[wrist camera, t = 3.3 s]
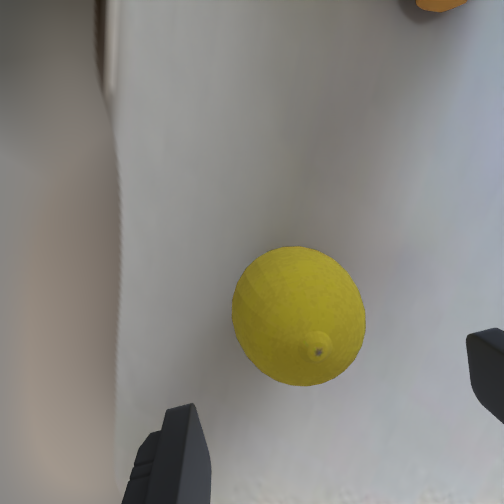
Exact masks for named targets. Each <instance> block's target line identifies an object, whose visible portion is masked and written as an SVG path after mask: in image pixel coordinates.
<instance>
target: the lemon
mask: <svg viewBox="0 0 504 504" xmlns="http://www.w3.org/2000/svg"><path fill="white" fill-rule="evenodd" d="M232 321H233V325H234V329H235V334H236V337H237V339H238V341H239V343H240V345H241V347H242V348H243V350H244V352H245V354H246V356H247V357H248V358H249V359H250V360H251V361H252V362H253V363H254V364H255V366H256V367H257V368H258V369H259V370H260V371H261V372H263V373H264V374H266V375H268V376H269V377H271V378H273V379H274V380H276V381H278V382H282V383H285V384H288V385H293V386H312V385H317V384H322V383H324V382H327V381H329V380H331V379H334V378H335V377H337V376H338V375H339V374H341V373H342V372H344V371H345V370H346V369H347V368H348V366H349V365H350V364H351V363H352V362H353V361H354V360H355V358H356V356H357V354H358V352H359V350H360V348H361V346H362V343H363V339H364V335H365V329H366V322H365V309H364V306H363V302H362V299H361V296H360V293H359V290H358V288H357V287H356V285H355V283H354V282H353V280H352V279H351V277H350V275H349V274H348V273H347V271H346V270H345V269H344V268H342V267H341V266H340V265H339V264H338V263H337V262H336V261H335V260H334V259H332V258H331V257H329V256H327V255H325V254H323V253H321V252H319V251H317V250H314V249H310V248H305V247H301V246H293V247H281V248H278V249H274V250H271V251H268V252H267V253H265V254H263V255H261V256H260V257H258V258H256V259H255V260H254V261H253V262H252V263H251V264H250V265H249V266H248V267H247V268H246V269H245V271H244V273H243V274H242V276H241V277H240V279H239V281H238V282H237V285H236V289H235V292H234V295H233V299H232Z"/></svg>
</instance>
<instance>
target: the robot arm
mask: <svg viewBox="0 0 504 504" xmlns="http://www.w3.org/2000/svg"><path fill="white" fill-rule="evenodd" d="M466 346H467V355H468V363H469V372H470V380H471V385H472V389H473V391H474V393H475V395H476V397H477V399H478V400H479V402H480V403H481V404H482V405H483V406H484V407H485V408H486V409H487V410H489V411H490V412H491V413H492V414H493V415H494V416H495V417H496V418H497V419H499V420H500V421H501V422H502V423H503V424H504V331H502V330H501V329H498V328H491V329H487V330H484V331H480V332H476V333H472V334H469V335H468V336H467V338H466ZM210 495H211V461H210V455H209V450H208V447H207V443H206V440H205V437H204V433H203V430H202V427H201V423H200V420H199V417H198V413H197V410H196V407H195V405H194V404H193V403H191V404H187V405H183V406H179V407H175V408H171V409H167V410H166V413H165V417H164V421H163V425H162V429H161V430H160V431H156V432H152V433H150V434H149V436H148V437H147V438H146V440H145V441H144V442H143V444H142V445H141V446H140V448H139V450H138V453H137V456H136V459H135V462H134V467H133V469H132V472H131V475H130V481H128V484H127V488H126V491H125V494H124V497H123V500H122V504H210Z"/></svg>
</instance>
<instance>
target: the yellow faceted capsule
mask: <svg viewBox="0 0 504 504" xmlns="http://www.w3.org/2000/svg"><path fill="white" fill-rule="evenodd" d="M415 1H416V5H417V6H419V7H420V8H421V9H423V10H427V11H434V12H444V11H447V10H450V9H453V8H455V7H458V6H460V5H462V4H464V3H466V2H467V0H415Z"/></svg>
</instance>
